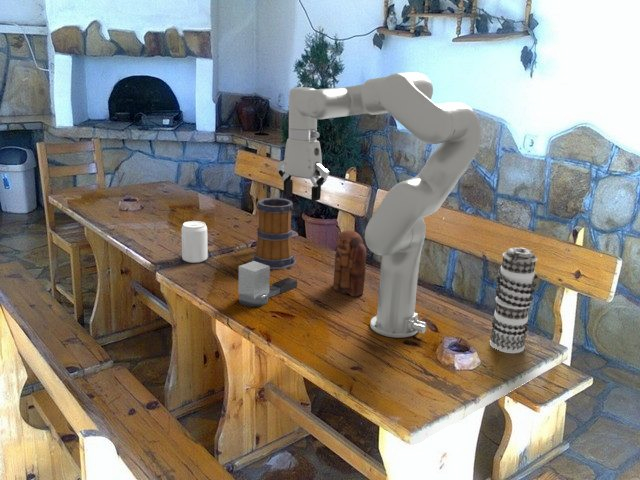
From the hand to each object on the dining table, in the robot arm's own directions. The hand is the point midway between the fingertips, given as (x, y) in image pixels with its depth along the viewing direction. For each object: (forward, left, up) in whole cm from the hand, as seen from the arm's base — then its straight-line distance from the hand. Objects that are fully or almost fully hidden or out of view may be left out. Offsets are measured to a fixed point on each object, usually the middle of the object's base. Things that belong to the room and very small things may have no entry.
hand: (301, 197), depth 179 cm
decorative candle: (-58, -11, -29) cm, 66 cm away
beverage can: (+43, +2, -29) cm, 51 cm away
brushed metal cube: (+5, +13, -26) cm, 30 cm away
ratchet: (+6, +6, -29) cm, 30 cm away
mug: (+26, -16, -29) cm, 42 cm away
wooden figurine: (-8, -12, -29) cm, 32 cm away
